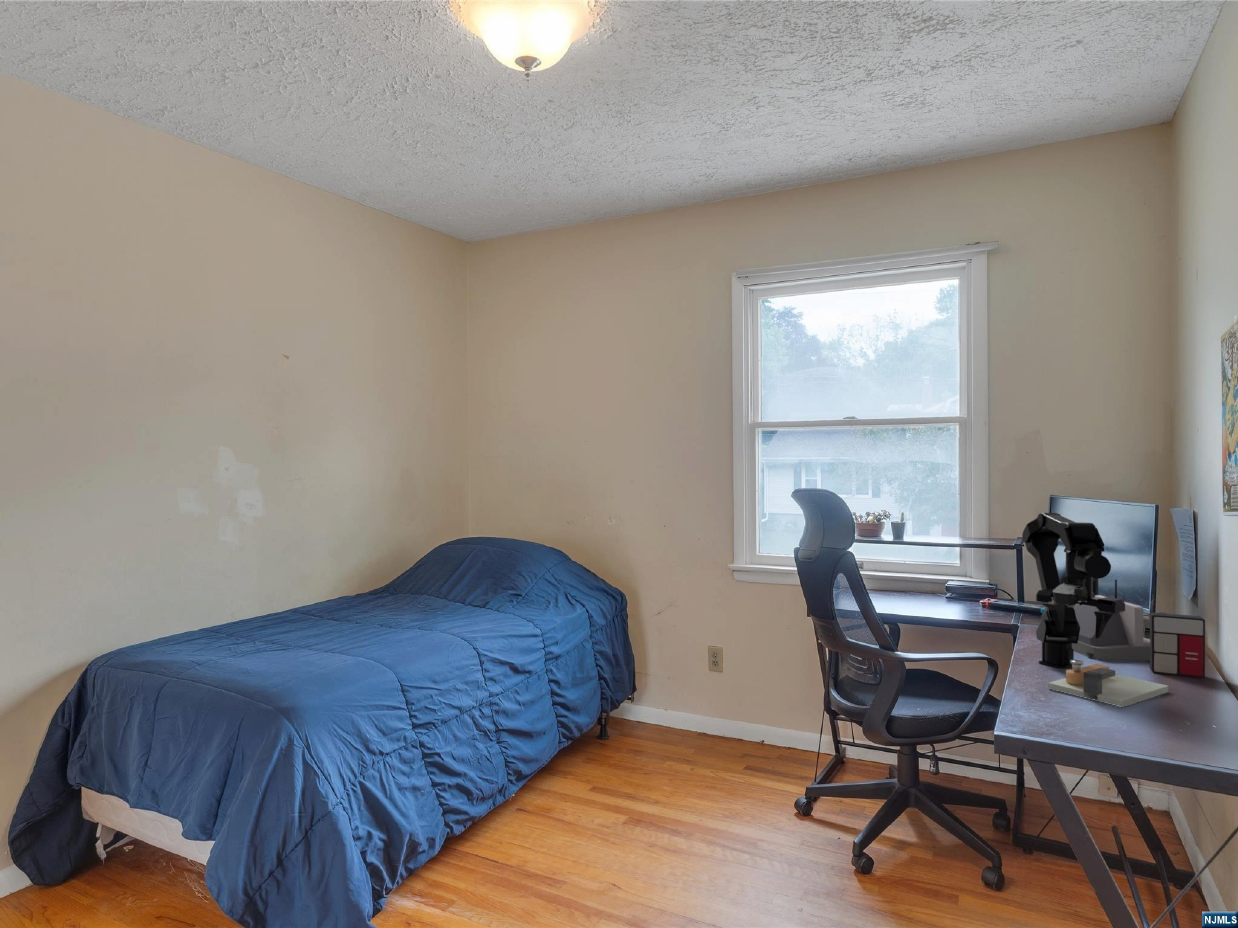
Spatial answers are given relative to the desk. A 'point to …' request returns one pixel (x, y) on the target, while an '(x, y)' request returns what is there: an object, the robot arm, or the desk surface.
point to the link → (1081, 674)
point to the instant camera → (1112, 635)
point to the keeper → (1092, 677)
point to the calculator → (1177, 644)
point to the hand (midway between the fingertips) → (1079, 634)
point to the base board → (1115, 690)
